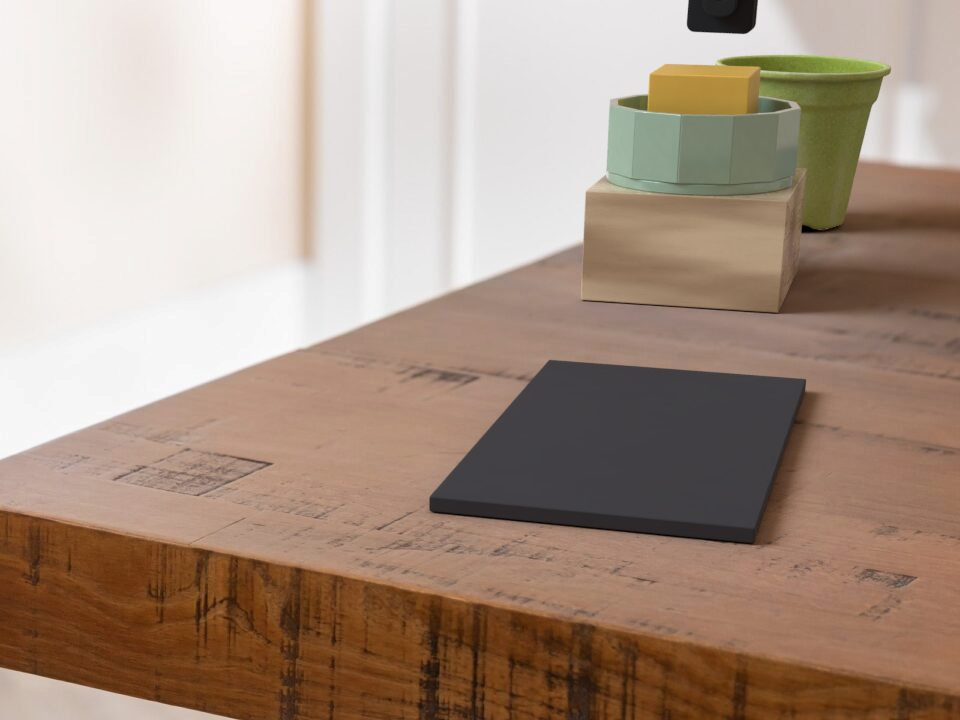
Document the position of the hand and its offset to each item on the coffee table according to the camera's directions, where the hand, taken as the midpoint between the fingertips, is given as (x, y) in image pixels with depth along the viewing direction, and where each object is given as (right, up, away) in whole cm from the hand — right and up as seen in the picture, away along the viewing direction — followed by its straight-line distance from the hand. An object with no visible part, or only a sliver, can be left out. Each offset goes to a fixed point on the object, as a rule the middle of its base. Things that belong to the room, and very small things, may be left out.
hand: (720, 30), depth 92 cm
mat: (-8, -23, -28) cm, 37 cm away
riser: (-2, -13, -3) cm, 13 cm away
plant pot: (+6, -7, +13) cm, 16 cm away
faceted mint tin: (-2, -9, -5) cm, 10 cm away
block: (-2, -8, -5) cm, 10 cm away
